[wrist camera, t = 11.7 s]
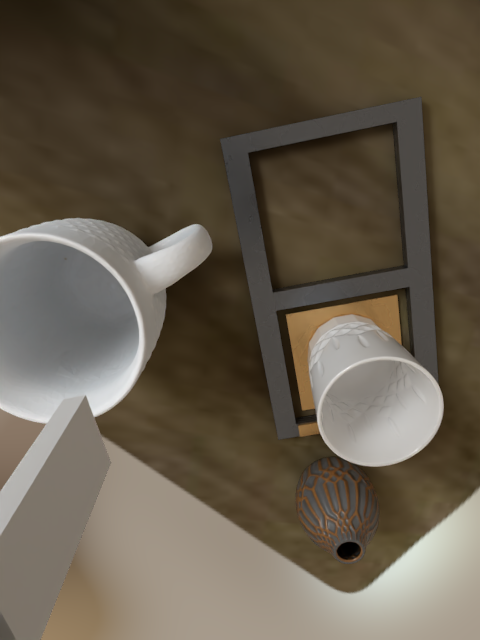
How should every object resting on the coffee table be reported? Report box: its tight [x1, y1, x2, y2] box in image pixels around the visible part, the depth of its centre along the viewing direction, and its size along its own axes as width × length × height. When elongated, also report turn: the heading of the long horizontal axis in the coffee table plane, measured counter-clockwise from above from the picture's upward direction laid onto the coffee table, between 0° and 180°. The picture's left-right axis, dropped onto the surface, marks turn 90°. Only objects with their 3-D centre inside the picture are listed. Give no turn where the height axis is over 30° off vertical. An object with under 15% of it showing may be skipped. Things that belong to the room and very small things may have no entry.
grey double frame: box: [220, 97, 438, 440], centre depth 36 cm, size 25×14×1 cm, turn 11°
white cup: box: [307, 314, 444, 467], centre depth 33 cm, size 8×8×10 cm
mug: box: [0, 218, 212, 424], centre depth 30 cm, size 15×11×13 cm
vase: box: [296, 457, 379, 564], centre depth 38 cm, size 7×7×9 cm
